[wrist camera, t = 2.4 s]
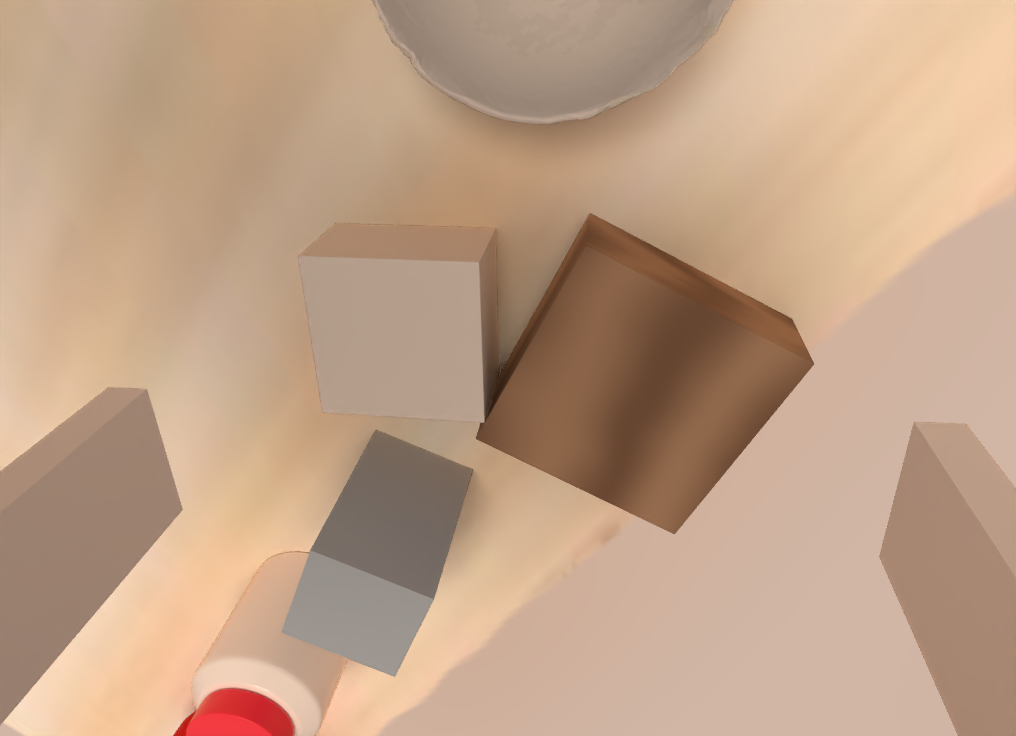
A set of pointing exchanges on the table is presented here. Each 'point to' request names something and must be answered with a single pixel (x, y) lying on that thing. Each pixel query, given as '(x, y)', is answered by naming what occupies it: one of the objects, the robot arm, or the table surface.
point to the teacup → (548, 50)
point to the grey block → (404, 320)
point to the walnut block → (641, 377)
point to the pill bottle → (264, 665)
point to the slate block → (380, 555)
